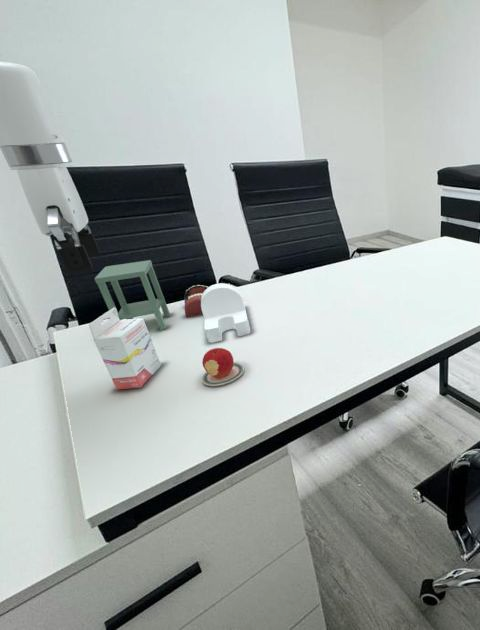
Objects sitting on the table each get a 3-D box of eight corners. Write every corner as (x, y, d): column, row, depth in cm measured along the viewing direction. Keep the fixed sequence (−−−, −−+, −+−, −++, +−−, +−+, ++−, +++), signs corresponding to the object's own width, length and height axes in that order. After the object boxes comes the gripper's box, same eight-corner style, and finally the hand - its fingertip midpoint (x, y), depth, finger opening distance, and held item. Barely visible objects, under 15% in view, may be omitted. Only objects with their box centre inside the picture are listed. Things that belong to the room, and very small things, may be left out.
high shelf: (120, 338, 97) (94, 278, 90) (128, 322, 105) (105, 266, 98) (166, 329, 100) (144, 271, 93) (170, 314, 109) (150, 260, 102)
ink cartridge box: (142, 388, 77) (113, 323, 71) (116, 390, 77) (84, 325, 70) (163, 364, 85) (138, 303, 78) (139, 366, 84) (112, 306, 78)
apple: (248, 377, 79) (240, 350, 76) (205, 392, 75) (195, 364, 72) (239, 360, 85) (231, 335, 82) (199, 374, 81) (189, 347, 78)
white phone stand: (208, 343, 92) (195, 302, 88) (208, 315, 107) (196, 278, 102) (251, 333, 96) (240, 293, 91) (245, 307, 111) (235, 271, 106)
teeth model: (178, 298, 102) (180, 284, 112) (185, 319, 105) (186, 304, 115) (213, 292, 106) (212, 279, 116) (219, 313, 108) (217, 299, 118)
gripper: (23, 157, 65) (68, 255, 72) (-15, 162, 51) (46, 282, 59) (79, 153, 68) (117, 248, 76) (57, 158, 54) (106, 272, 62)
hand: (86, 263), depth 67 cm, fingers open, 9 cm apart
